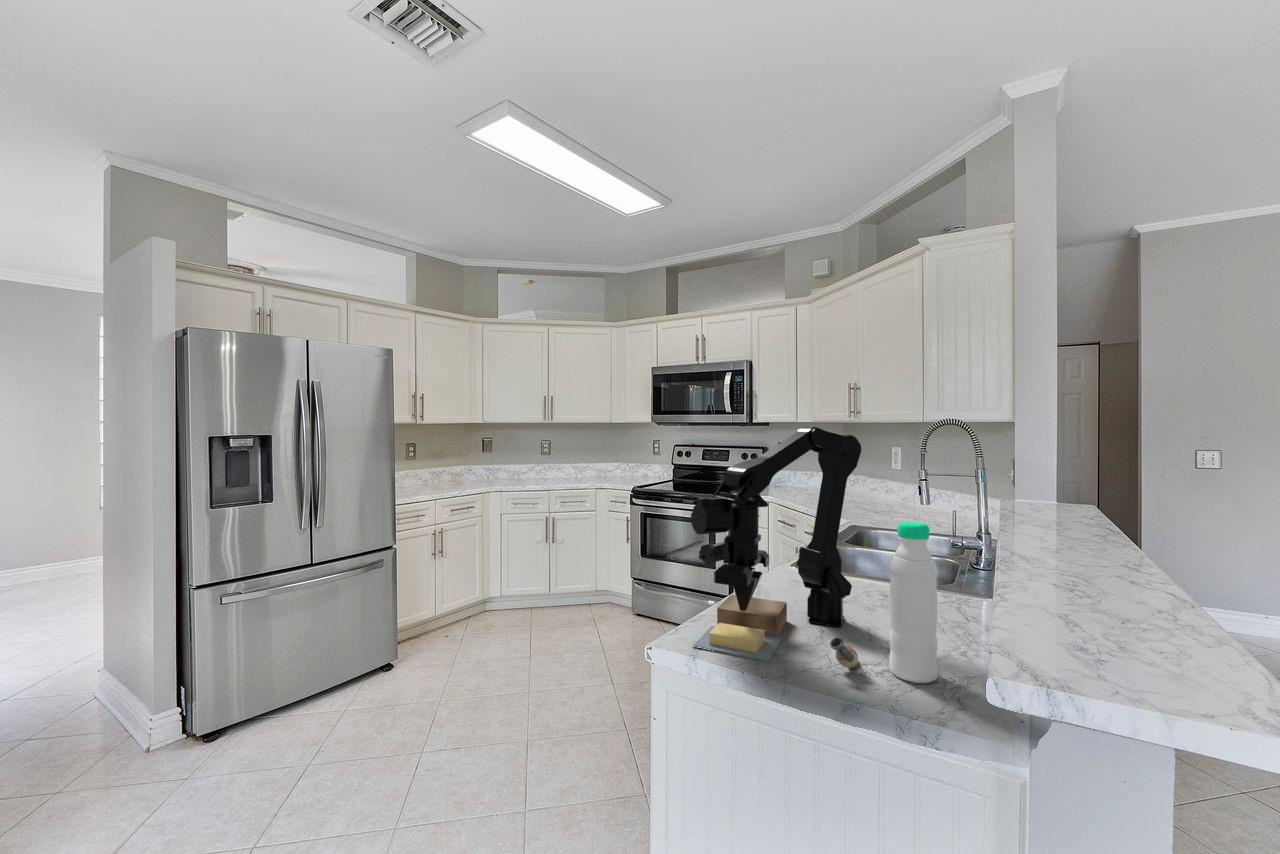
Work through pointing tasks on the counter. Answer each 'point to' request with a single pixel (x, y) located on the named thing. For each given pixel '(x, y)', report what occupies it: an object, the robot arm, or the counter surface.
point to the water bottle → (913, 606)
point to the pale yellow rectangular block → (737, 637)
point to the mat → (762, 654)
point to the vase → (847, 656)
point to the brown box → (754, 614)
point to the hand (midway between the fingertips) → (743, 610)
